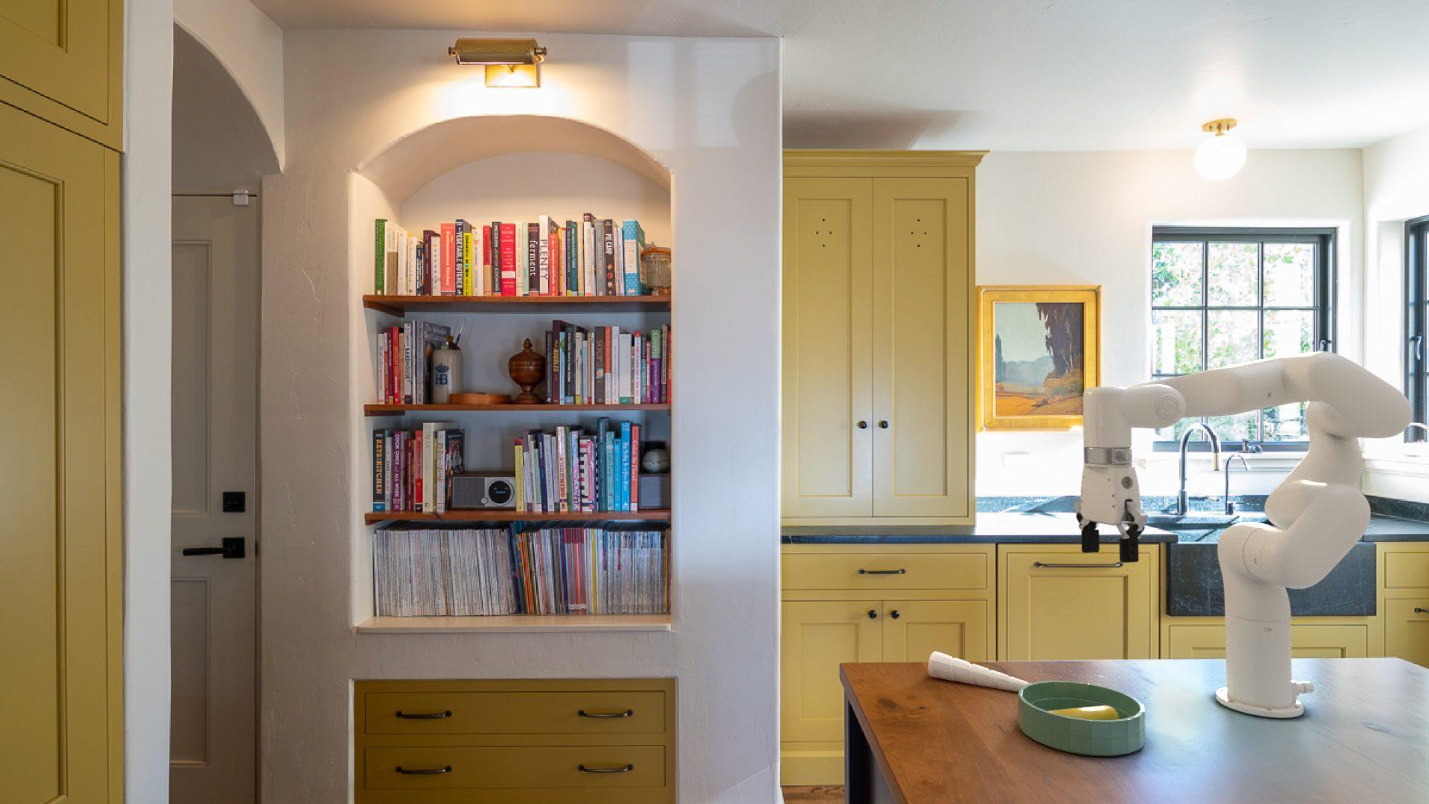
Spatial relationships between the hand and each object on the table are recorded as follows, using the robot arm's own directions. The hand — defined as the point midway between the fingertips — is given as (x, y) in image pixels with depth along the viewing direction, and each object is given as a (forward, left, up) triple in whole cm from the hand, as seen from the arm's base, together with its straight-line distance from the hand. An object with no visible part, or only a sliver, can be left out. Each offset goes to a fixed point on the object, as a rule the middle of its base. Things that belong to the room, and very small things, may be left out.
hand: (1109, 557), depth 139 cm
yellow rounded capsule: (+12, +8, -26) cm, 30 cm away
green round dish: (+12, +8, -26) cm, 30 cm away
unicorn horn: (+14, -16, -26) cm, 34 cm away
